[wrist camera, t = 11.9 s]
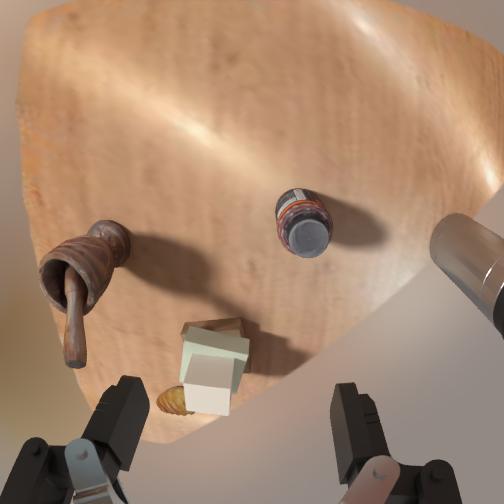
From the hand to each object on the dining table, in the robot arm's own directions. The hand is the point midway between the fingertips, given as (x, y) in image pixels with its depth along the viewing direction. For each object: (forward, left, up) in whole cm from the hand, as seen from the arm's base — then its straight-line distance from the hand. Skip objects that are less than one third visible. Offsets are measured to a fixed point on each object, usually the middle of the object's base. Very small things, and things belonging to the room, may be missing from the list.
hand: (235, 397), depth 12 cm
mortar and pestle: (+21, +7, -31) cm, 38 cm away
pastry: (+15, +38, -31) cm, 51 cm away
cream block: (+6, +22, -24) cm, 34 cm away
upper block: (+6, +22, -28) cm, 36 cm away
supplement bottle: (-5, +1, -31) cm, 31 cm away
